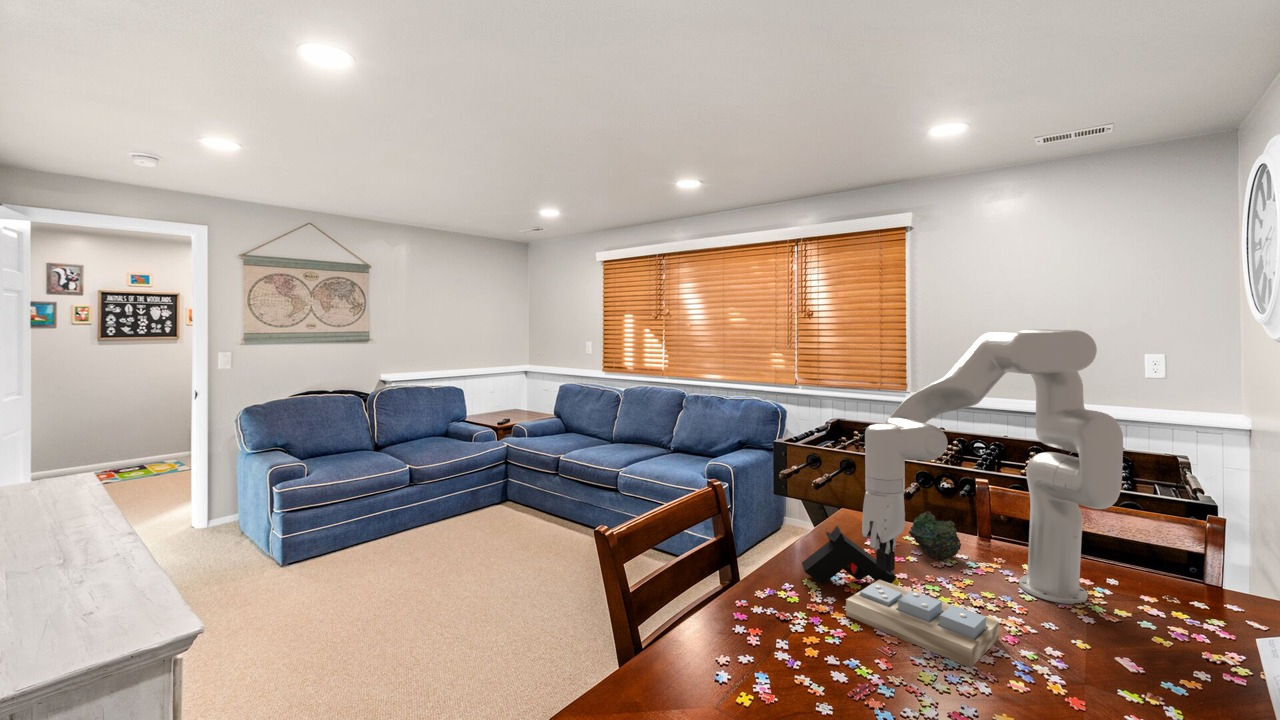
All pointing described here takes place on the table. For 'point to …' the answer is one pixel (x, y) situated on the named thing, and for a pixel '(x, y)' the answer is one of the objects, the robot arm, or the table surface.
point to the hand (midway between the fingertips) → (885, 569)
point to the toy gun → (844, 561)
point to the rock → (935, 536)
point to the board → (922, 628)
